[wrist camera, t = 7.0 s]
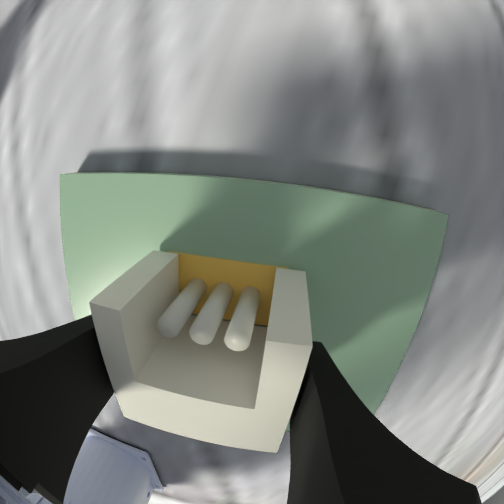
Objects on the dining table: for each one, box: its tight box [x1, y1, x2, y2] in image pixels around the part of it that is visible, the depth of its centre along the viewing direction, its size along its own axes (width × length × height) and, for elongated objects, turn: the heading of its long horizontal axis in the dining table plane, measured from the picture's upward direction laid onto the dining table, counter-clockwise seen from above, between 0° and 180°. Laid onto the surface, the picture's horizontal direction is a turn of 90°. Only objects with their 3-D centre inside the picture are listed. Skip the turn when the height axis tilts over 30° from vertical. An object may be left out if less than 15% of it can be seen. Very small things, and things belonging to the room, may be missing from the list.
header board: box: [60, 172, 449, 431], centre depth 10 cm, size 12×16×4 cm
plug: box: [89, 250, 313, 453], centre depth 9 cm, size 5×6×4 cm
